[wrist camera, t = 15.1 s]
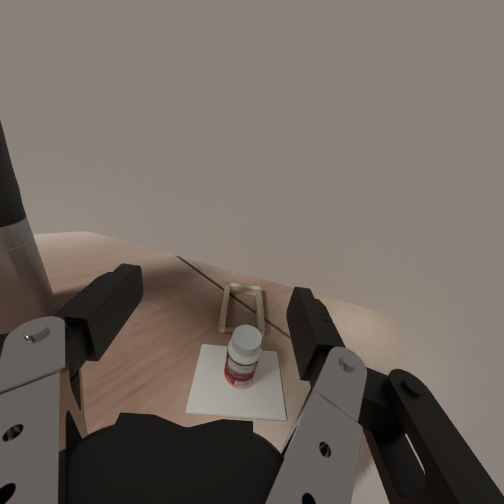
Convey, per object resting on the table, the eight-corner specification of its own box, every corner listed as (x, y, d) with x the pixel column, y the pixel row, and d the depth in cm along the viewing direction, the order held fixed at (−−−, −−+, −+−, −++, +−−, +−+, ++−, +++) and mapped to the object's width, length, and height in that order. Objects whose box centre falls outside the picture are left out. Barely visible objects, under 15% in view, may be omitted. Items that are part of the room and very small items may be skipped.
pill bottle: (234, 354, 33) (241, 317, 30) (259, 370, 32) (270, 332, 28) (216, 378, 29) (222, 339, 26) (244, 398, 28) (254, 359, 24)
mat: (185, 413, 25) (185, 412, 25) (202, 345, 34) (202, 343, 34) (285, 421, 26) (286, 419, 26) (276, 352, 35) (276, 351, 35)
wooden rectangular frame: (217, 332, 37) (218, 324, 36) (225, 288, 49) (225, 282, 48) (263, 337, 38) (265, 329, 37) (259, 293, 49) (261, 286, 49)
